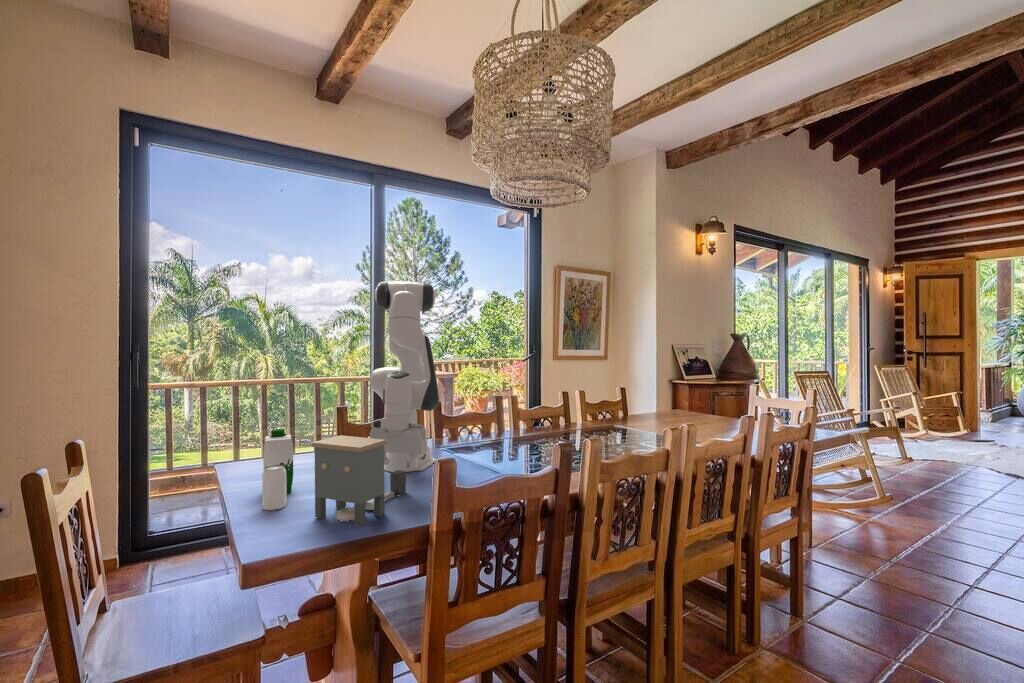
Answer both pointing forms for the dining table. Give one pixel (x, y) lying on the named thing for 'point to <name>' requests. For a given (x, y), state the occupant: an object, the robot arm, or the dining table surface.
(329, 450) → the cabinet
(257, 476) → the dining table surface
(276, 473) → the can
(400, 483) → the block
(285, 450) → the milk carton
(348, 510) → the coaster
